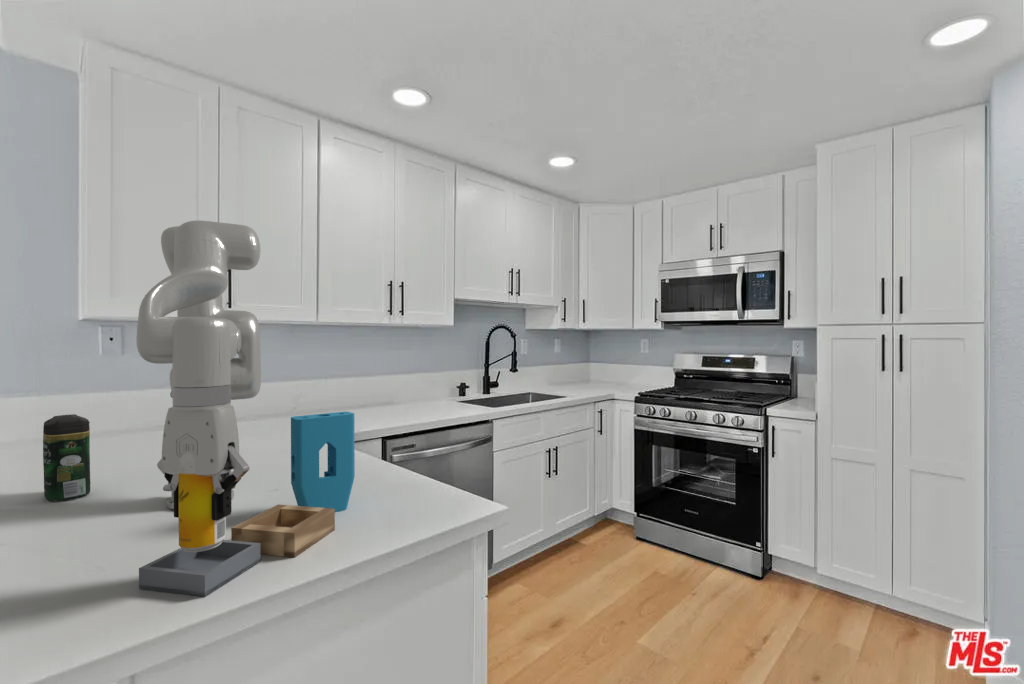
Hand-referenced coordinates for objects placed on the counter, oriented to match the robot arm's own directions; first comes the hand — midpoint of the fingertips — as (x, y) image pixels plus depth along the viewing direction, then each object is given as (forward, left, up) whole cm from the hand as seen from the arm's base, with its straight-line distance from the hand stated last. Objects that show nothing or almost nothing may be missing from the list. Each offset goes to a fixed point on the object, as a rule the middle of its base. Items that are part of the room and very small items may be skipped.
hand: (202, 514), depth 75 cm
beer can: (0, 0, -5) cm, 5 cm away
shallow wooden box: (+4, +14, -9) cm, 17 cm away
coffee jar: (-61, +26, -9) cm, 67 cm away
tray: (0, 0, -9) cm, 9 cm away
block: (+2, +29, -9) cm, 31 cm away
